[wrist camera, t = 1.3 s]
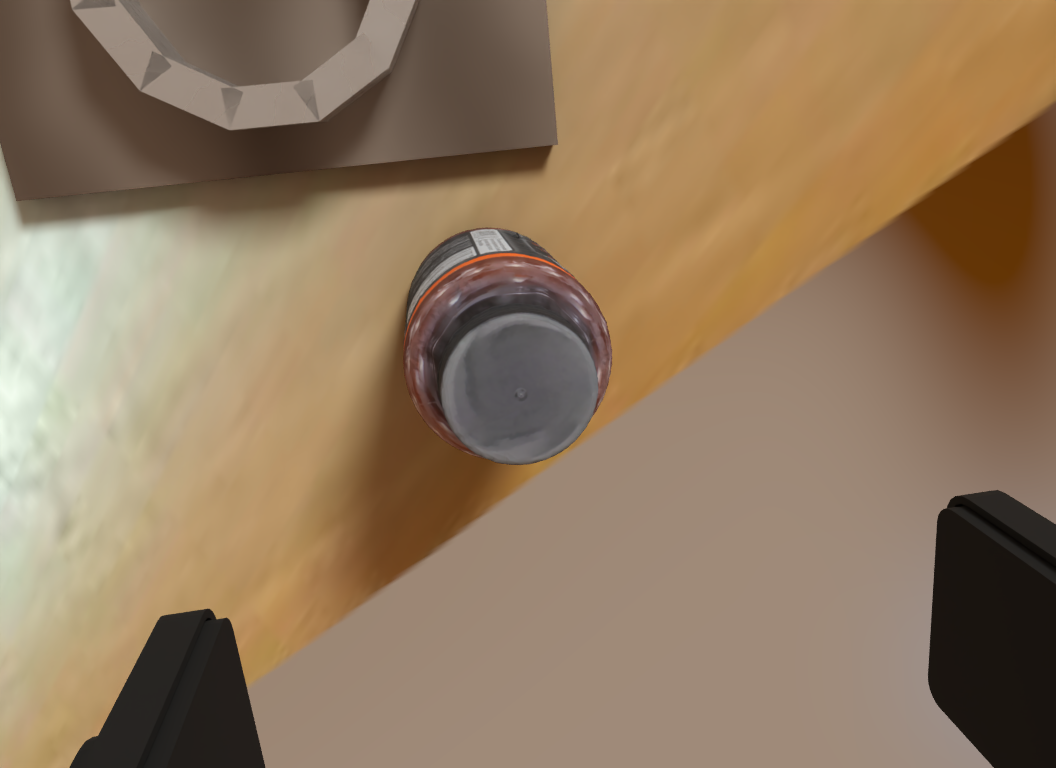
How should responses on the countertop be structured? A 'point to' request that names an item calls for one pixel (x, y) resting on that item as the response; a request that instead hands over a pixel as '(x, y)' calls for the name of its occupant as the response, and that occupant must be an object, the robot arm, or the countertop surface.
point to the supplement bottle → (503, 348)
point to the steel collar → (320, 96)
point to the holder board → (264, 58)
